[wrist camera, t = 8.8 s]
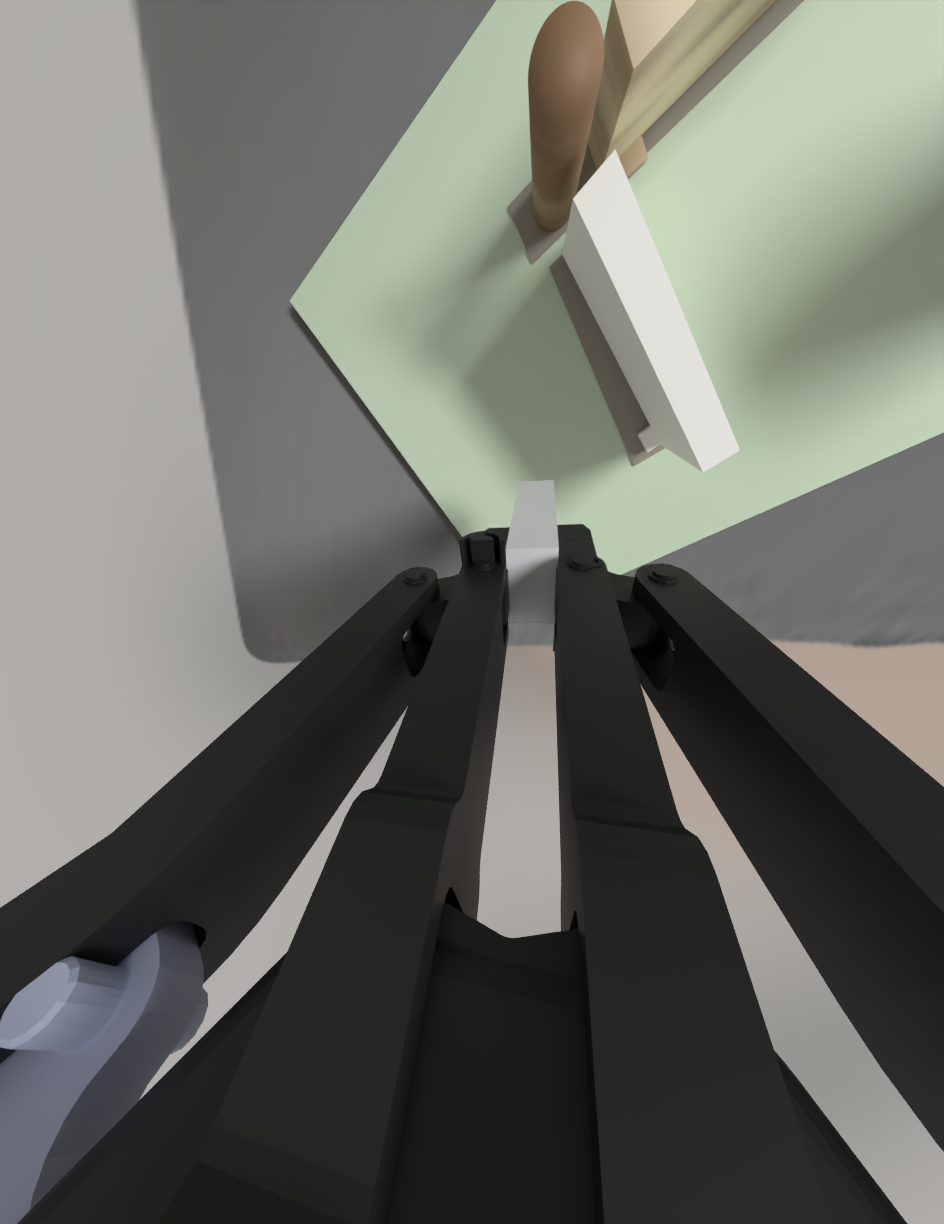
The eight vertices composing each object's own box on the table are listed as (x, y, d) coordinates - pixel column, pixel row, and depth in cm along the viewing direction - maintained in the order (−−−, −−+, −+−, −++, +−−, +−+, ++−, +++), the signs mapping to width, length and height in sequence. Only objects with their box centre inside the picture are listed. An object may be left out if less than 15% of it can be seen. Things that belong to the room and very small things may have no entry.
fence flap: (548, 270, 14) (553, 221, 9) (602, 211, 13) (638, 121, 8) (645, 450, 17) (686, 482, 13) (695, 417, 16) (760, 438, 11)
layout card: (1058, -784, 6) (1110, -900, 5) (990, 403, 15) (1007, 405, 14) (296, 303, 17) (288, 300, 16) (522, 613, 26) (521, 619, 25)
